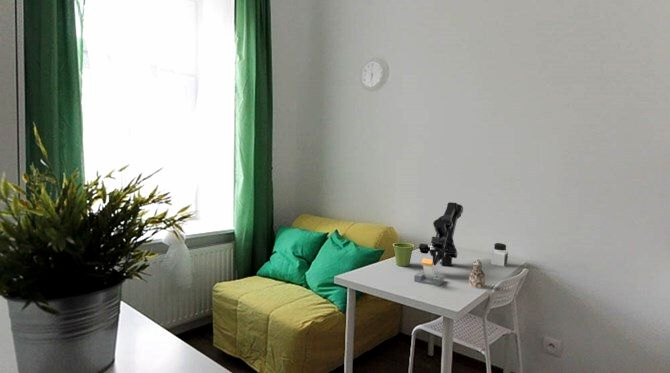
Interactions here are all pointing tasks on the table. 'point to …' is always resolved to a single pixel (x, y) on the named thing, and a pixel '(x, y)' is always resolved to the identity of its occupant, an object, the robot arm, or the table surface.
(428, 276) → the switch lever
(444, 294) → the table surface
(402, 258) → the plant pot
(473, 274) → the figurine
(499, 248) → the medicine bottle
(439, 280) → the switch housing
